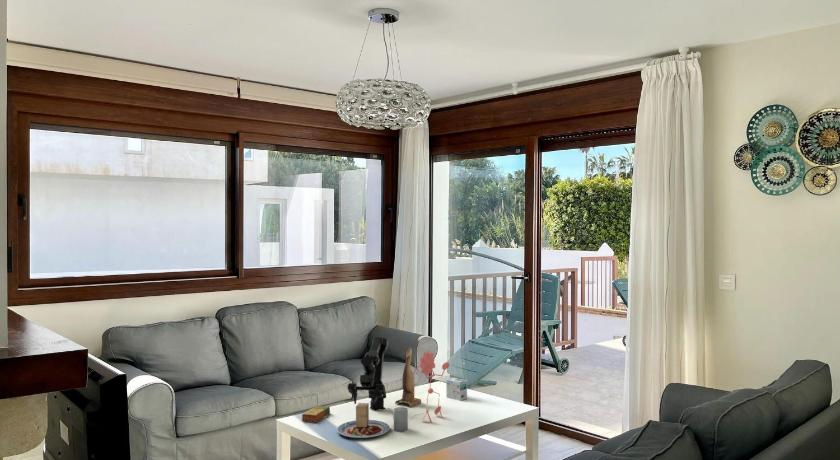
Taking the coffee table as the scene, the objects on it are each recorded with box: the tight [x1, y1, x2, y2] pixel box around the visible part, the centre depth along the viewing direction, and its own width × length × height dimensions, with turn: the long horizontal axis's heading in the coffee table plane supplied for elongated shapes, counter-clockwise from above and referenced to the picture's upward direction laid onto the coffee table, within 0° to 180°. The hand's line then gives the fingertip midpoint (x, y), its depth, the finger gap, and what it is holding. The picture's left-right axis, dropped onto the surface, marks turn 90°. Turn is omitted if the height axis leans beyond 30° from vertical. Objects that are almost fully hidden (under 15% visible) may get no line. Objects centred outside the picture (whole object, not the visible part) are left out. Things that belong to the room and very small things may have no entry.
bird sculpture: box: [394, 347, 422, 408], centre depth 356 cm, size 11×12×32 cm
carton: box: [301, 405, 331, 423], centre depth 333 cm, size 8×16×4 cm, turn 162°
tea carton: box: [355, 402, 370, 427], centre depth 312 cm, size 6×5×10 cm
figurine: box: [411, 350, 450, 423], centre depth 331 cm, size 15×26×35 cm, turn 139°
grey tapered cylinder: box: [393, 406, 409, 433], centre depth 313 cm, size 7×7×10 cm
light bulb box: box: [445, 377, 468, 401], centre depth 367 cm, size 11×7×11 cm, turn 49°
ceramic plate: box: [336, 419, 391, 439], centre depth 310 cm, size 26×26×3 cm
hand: (363, 403), depth 315 cm, fingers open, 9 cm apart
